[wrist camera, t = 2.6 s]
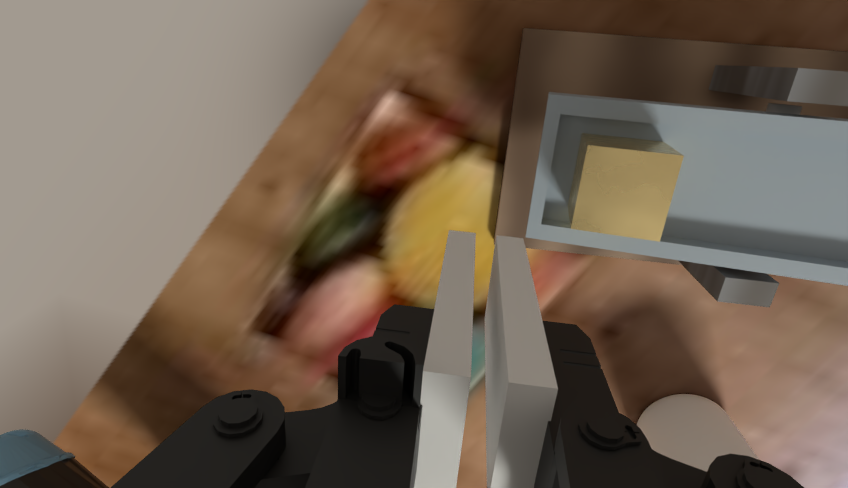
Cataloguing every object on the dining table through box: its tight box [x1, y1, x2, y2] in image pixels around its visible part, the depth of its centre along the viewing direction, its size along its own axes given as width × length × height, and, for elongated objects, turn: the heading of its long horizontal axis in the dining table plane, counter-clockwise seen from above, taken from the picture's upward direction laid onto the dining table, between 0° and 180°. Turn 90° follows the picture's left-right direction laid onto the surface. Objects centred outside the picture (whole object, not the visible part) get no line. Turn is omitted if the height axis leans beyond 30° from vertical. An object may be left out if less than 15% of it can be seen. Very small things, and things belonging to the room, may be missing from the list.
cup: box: [637, 394, 759, 472], centre depth 40 cm, size 8×12×10 cm
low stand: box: [494, 28, 848, 307], centre depth 30 cm, size 29×16×10 cm, turn 86°
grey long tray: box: [526, 92, 848, 286], centre depth 28 cm, size 26×9×6 cm, turn 86°
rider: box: [568, 133, 684, 242], centre depth 26 cm, size 4×4×4 cm
